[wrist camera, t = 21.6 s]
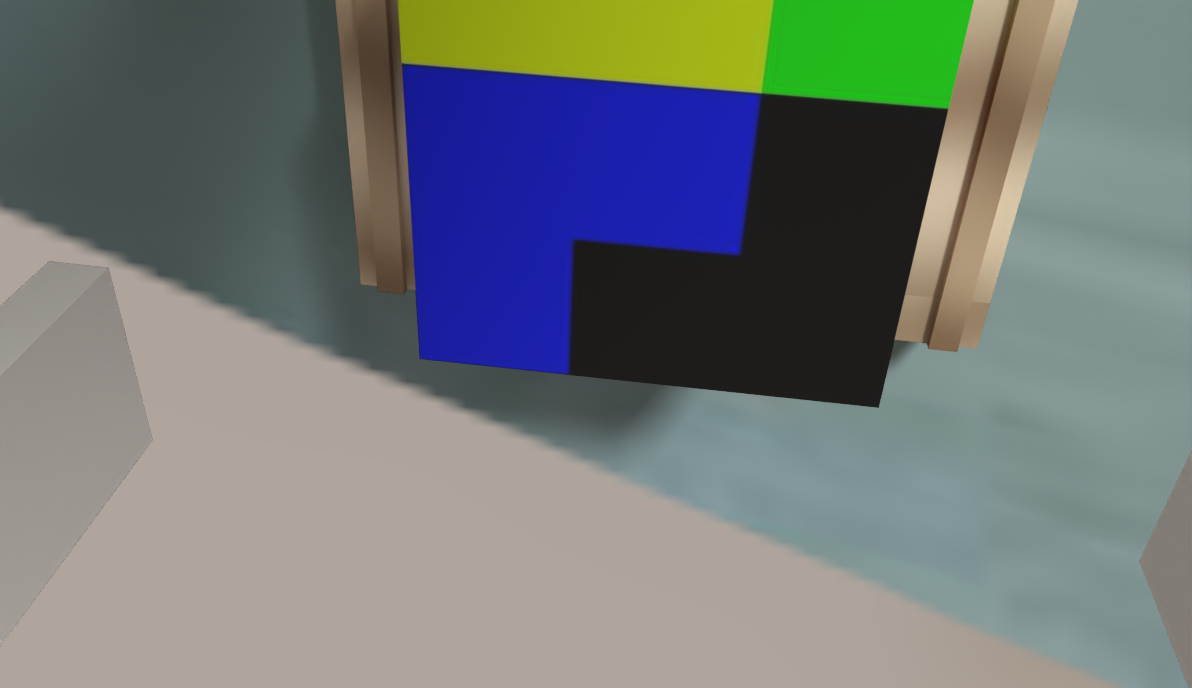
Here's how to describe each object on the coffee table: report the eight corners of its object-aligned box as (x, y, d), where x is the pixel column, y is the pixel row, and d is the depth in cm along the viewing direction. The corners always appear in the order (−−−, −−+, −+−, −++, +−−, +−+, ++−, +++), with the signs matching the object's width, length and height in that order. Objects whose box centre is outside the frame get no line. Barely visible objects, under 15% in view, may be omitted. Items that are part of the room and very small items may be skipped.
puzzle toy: (507, 172, 32) (419, 358, 24) (505, -201, 26) (389, -129, 18) (845, 203, 31) (878, 407, 23) (916, -176, 26) (994, -88, 17)
